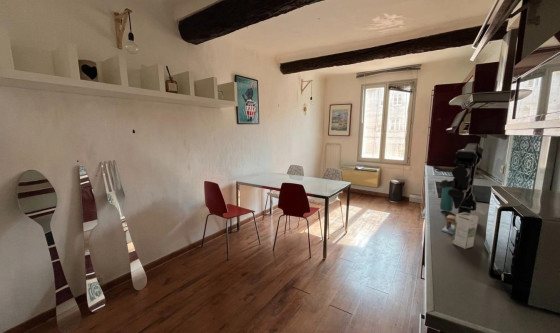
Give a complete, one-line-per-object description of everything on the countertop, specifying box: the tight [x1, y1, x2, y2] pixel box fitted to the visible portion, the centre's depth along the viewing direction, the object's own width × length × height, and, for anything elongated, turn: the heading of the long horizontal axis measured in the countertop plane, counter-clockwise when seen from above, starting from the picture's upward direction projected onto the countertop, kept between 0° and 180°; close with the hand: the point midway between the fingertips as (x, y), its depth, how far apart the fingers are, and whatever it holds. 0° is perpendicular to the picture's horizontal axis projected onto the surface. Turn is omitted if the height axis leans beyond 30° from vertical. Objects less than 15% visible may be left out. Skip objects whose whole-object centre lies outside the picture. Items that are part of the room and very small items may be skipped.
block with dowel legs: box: [445, 214, 456, 229], centre depth 117 cm, size 8×5×6 cm, turn 40°
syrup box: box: [451, 212, 479, 250], centre depth 102 cm, size 6×6×14 cm
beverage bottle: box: [439, 187, 454, 212], centre depth 142 cm, size 6×7×20 cm
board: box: [441, 224, 455, 235], centre depth 117 cm, size 11×9×1 cm
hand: (458, 206), depth 115 cm, fingers open, 9 cm apart
